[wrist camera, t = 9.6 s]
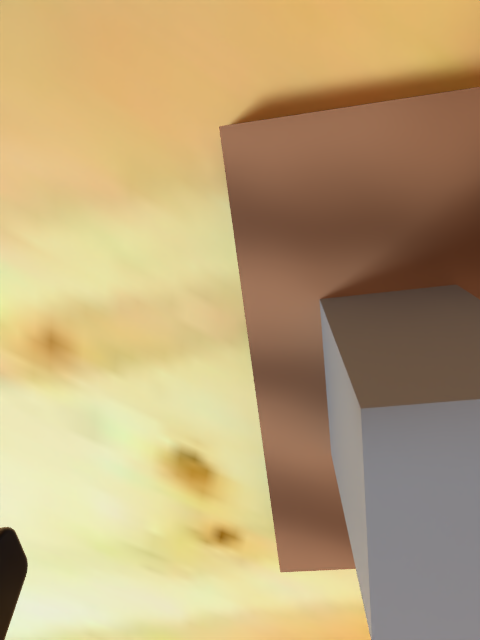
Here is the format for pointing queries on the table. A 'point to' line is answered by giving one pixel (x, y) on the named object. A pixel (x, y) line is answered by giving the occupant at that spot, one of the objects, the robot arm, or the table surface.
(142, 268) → the table surface
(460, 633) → the carton
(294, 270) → the shelf board
